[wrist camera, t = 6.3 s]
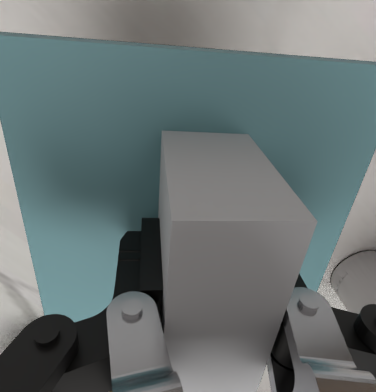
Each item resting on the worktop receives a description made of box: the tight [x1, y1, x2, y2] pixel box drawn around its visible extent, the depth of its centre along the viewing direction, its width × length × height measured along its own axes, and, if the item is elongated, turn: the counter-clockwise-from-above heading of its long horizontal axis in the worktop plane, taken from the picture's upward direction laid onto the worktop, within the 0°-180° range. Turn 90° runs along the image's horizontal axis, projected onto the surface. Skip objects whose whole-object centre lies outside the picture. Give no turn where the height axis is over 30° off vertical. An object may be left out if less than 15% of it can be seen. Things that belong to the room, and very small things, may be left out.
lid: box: [0, 32, 376, 392], centre depth 11 cm, size 13×13×7 cm
